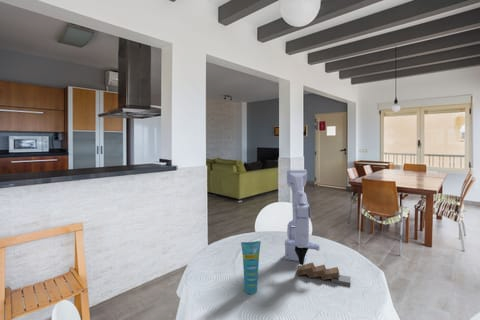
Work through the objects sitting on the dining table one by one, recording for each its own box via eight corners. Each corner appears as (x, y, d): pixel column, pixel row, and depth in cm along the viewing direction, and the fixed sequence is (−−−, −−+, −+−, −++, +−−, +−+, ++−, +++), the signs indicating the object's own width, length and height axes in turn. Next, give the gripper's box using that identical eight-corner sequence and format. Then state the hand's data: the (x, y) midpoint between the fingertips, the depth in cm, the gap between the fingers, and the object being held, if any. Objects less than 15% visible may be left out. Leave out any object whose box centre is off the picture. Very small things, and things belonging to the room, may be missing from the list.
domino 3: (320, 275, 104) (337, 272, 102) (321, 270, 109) (337, 266, 107) (322, 280, 104) (339, 277, 102) (322, 274, 109) (339, 271, 106)
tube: (243, 295, 94) (242, 244, 93) (240, 288, 98) (239, 239, 98) (262, 292, 95) (262, 242, 95) (258, 285, 100) (258, 238, 99)
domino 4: (331, 279, 102) (350, 282, 99) (332, 273, 107) (350, 276, 104) (331, 284, 102) (350, 287, 100) (332, 278, 107) (350, 281, 104)
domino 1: (295, 271, 108) (311, 267, 105) (298, 266, 113) (312, 262, 110) (297, 275, 108) (313, 271, 105) (299, 270, 112) (314, 266, 110)
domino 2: (307, 273, 106) (323, 269, 103) (308, 268, 111) (324, 264, 108) (309, 278, 106) (325, 274, 103) (310, 272, 110) (326, 269, 108)
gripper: (282, 233, 108) (282, 264, 109) (318, 238, 102) (317, 271, 103) (287, 228, 114) (286, 258, 115) (320, 233, 108) (320, 264, 109)
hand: (301, 263), depth 109 cm, fingers closed
